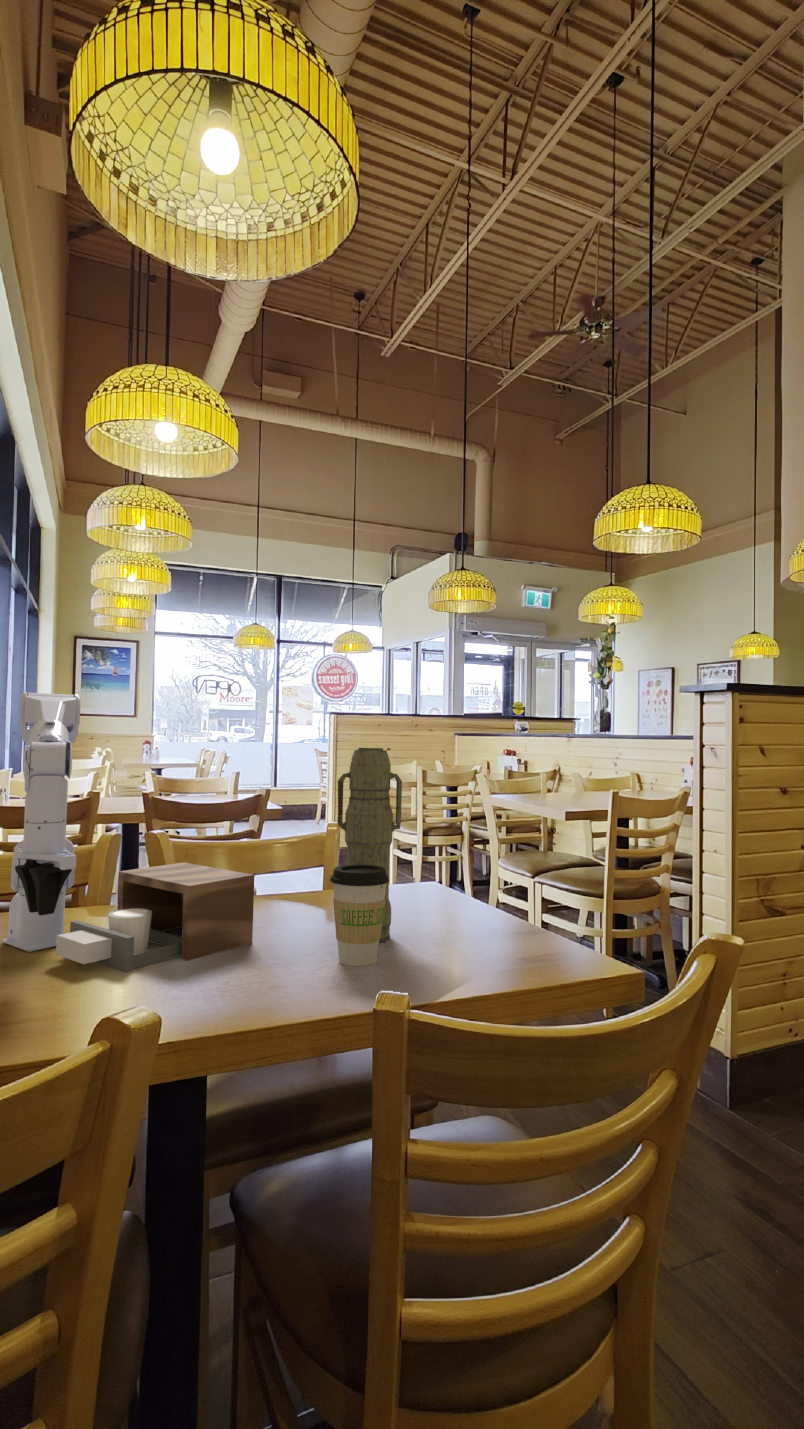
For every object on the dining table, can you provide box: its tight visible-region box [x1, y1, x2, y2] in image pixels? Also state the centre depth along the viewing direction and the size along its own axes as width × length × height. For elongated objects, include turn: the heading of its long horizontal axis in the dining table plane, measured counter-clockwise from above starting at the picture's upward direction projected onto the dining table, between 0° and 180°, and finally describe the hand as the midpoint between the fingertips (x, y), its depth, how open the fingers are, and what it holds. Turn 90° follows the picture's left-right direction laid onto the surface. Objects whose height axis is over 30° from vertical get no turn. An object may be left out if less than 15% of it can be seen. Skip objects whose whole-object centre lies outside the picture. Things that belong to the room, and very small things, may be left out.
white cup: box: [107, 908, 152, 953], centre depth 120 cm, size 7×7×7 cm
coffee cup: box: [329, 864, 390, 967], centre depth 120 cm, size 10×10×15 cm
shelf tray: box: [55, 919, 182, 972], centre depth 119 cm, size 16×18×5 cm
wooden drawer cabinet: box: [116, 862, 255, 961], centre depth 129 cm, size 20×14×12 cm
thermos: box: [336, 747, 403, 944], centre depth 135 cm, size 9×12×35 cm
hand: (41, 912), depth 108 cm, fingers open, 2 cm apart
